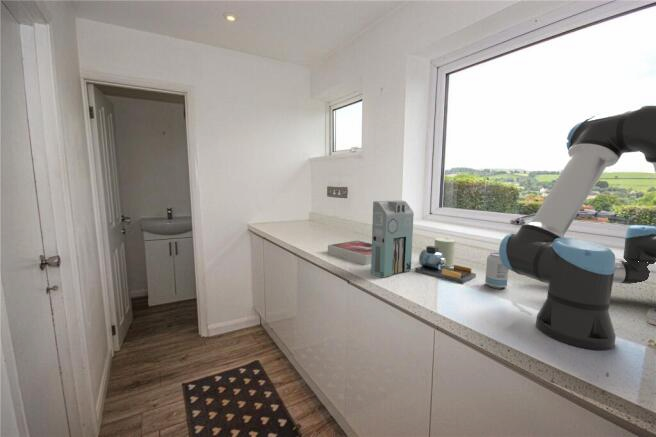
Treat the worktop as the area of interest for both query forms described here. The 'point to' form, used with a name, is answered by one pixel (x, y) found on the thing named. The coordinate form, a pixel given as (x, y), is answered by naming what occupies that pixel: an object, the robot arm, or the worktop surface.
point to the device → (391, 238)
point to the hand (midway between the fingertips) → (529, 266)
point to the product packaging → (352, 251)
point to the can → (446, 249)
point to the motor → (442, 266)
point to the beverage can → (496, 272)
